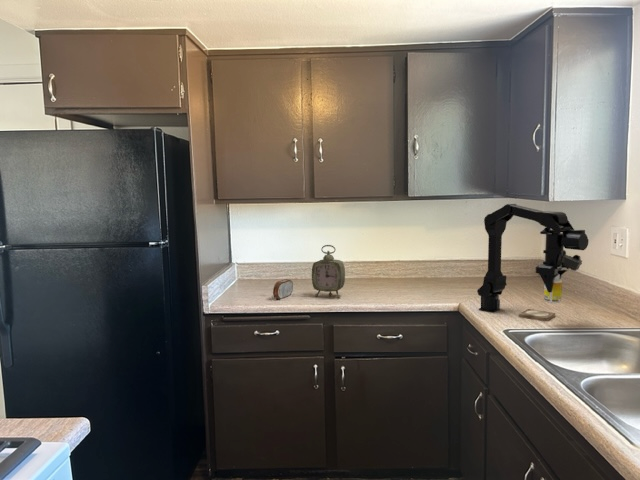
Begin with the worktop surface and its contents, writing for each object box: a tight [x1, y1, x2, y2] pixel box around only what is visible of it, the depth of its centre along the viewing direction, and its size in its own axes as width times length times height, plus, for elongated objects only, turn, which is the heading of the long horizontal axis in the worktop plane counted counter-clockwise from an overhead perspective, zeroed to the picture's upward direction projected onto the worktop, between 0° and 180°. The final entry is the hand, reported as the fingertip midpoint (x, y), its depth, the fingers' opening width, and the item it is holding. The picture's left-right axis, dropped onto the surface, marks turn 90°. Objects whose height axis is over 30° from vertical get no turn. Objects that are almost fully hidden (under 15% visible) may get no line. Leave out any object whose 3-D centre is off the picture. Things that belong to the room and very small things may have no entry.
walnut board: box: [518, 308, 556, 322], centre depth 175 cm, size 10×10×1 cm
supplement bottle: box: [543, 273, 563, 304], centre depth 161 cm, size 6×6×10 cm
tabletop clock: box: [311, 244, 346, 299], centre depth 215 cm, size 14×9×25 cm, turn 72°
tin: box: [272, 278, 294, 300], centre depth 217 cm, size 15×3×8 cm, turn 154°
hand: (552, 290), depth 162 cm, fingers closed on supplement bottle, 6 cm apart
